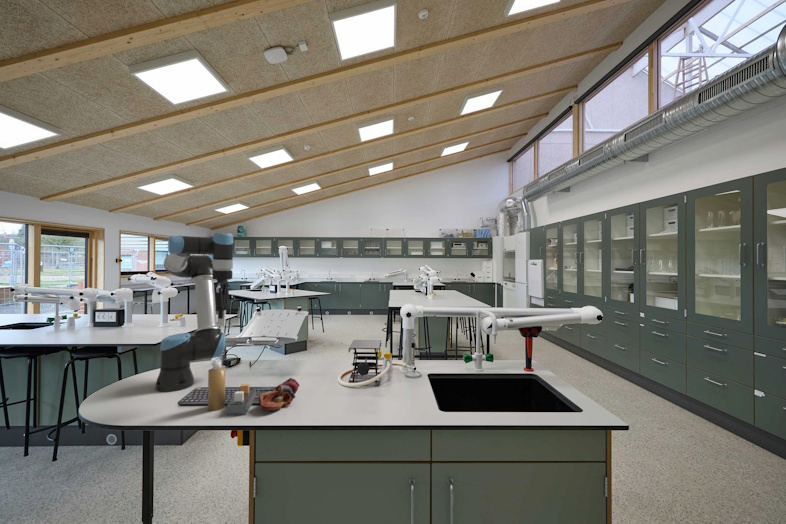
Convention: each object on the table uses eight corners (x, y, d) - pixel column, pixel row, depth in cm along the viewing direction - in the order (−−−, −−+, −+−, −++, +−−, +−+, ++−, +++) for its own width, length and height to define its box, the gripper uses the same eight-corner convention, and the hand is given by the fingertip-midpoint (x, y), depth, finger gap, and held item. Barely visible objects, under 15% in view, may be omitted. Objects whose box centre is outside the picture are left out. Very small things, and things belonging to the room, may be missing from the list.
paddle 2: (241, 392, 144) (241, 384, 144) (249, 391, 145) (249, 384, 145) (240, 393, 142) (240, 386, 142) (247, 393, 143) (247, 385, 143)
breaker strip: (242, 393, 153) (242, 384, 153) (259, 392, 154) (259, 384, 154) (226, 415, 131) (226, 405, 131) (245, 414, 132) (245, 404, 132)
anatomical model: (251, 398, 133) (280, 367, 139) (262, 402, 145) (288, 373, 150) (269, 417, 130) (298, 384, 136) (280, 420, 142) (306, 389, 147)
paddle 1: (235, 399, 136) (235, 391, 136) (243, 399, 137) (243, 391, 137) (234, 401, 134) (234, 393, 134) (242, 401, 135) (242, 393, 135)
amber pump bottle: (211, 404, 141) (212, 360, 140) (227, 403, 141) (227, 359, 141) (205, 410, 135) (205, 364, 134) (221, 410, 136) (222, 364, 135)
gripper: (218, 268, 151) (216, 322, 152) (207, 270, 138) (206, 329, 139) (236, 269, 152) (235, 322, 153) (227, 271, 140) (226, 329, 140)
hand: (221, 325), depth 146 cm, fingers closed
